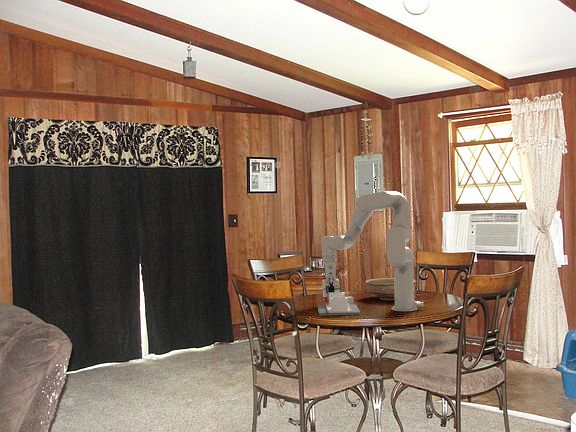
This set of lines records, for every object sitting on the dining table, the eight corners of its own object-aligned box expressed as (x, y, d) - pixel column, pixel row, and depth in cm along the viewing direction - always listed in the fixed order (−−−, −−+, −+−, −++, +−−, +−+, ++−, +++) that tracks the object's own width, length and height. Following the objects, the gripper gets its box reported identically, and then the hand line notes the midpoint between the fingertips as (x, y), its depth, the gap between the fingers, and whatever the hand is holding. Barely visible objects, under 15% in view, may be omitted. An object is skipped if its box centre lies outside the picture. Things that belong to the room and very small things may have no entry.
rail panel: (355, 306, 334) (355, 291, 334) (360, 314, 309) (360, 298, 309) (317, 307, 335) (317, 292, 335) (319, 315, 310) (318, 299, 310)
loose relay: (350, 303, 345) (350, 296, 345) (353, 304, 342) (353, 297, 342) (343, 304, 344) (343, 296, 344) (346, 305, 340) (346, 297, 340)
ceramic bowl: (366, 294, 380) (366, 277, 380) (415, 293, 375) (415, 276, 375) (363, 303, 344) (363, 285, 343) (417, 303, 339) (417, 284, 339)
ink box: (324, 302, 336) (323, 280, 336) (322, 301, 341) (321, 279, 341) (340, 301, 338) (339, 279, 338) (338, 300, 343) (337, 278, 343)
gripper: (337, 259, 331) (339, 294, 331) (335, 257, 348) (337, 291, 348) (323, 260, 331) (324, 295, 331) (321, 258, 348) (323, 291, 348)
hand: (331, 292), depth 340 cm, fingers closed on ink box, 5 cm apart
